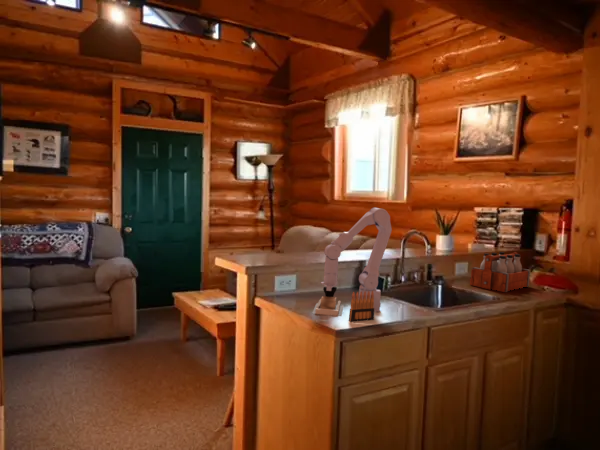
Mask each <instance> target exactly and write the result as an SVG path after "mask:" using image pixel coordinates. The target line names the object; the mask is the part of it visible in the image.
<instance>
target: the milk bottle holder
mask: <svg viewBox="0 0 600 450" xmlns="http://www.w3.org/2000/svg"><path fill="white" fill-rule="evenodd" d="M483 254H484V255H483V260H482V261H481V263H480V267H471V271H470V272H471V273H470V279H469V286H473V287H476V288H477V287H478V288H481V289H486V290H491V289H492V290H491V291H496V290H497V292H502V293H508V292H510V290H511V291H514V289H515V290H519V288H520V289H524V288H523V287H528V286H529V287H530V284H531V283H530V282H531V280H530V278H531V270H530V269H527V268H523V266H522V263H521V254H519V253H518V252H516V251H514V252H513V251H512V252H511V253H509V254H505V252H504V251H499V254H498V252H491V254H490V253H487V252H486V253H483ZM497 254H498V255H497ZM529 287H528V288H529Z"/></svg>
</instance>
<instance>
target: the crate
mask: <svg viewBox="0 0 600 450" xmlns="http://www.w3.org/2000/svg"><path fill="white" fill-rule="evenodd" d="M320 299H321V306H320V309H331V310H335V309H336V305H337V297H335V296H334V297H327V296H325V295H324V296H323V295H322V296H321V298H320Z"/></svg>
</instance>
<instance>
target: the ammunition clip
mask: <svg viewBox="0 0 600 450" xmlns="http://www.w3.org/2000/svg"><path fill="white" fill-rule="evenodd" d="M362 297H363V301H362ZM374 320H375V311H374V292H373V291H372V293H371V299H370V292H369V291H368V294H367V300H366V291H365V292H364V295H363V296H362V291H361V292H360V297H359V290H358V291H356V293H355V291H353V292H352V294H351V301H350V308H349V316H348V321H349V322H350V323H351V322H354V323H355V322H364V321H374Z"/></svg>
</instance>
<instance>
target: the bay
mask: <svg viewBox="0 0 600 450" xmlns="http://www.w3.org/2000/svg"><path fill="white" fill-rule="evenodd" d="M320 306H321V298H320V299H319V300H318V302H316V303H315V306H314V309H313V310H312V313H311V314H312V315H320V316H321V315H324V316H332V317H333V316H335V317H342V315H343V310H344V305H341V300H338V301H337V303H336V309H335V310H331V309H320Z"/></svg>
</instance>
